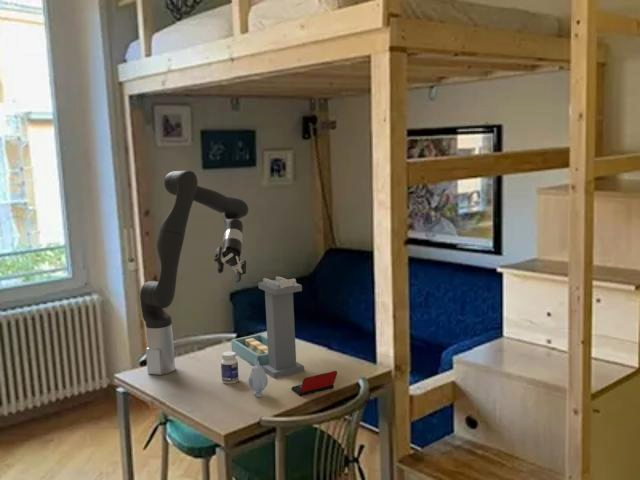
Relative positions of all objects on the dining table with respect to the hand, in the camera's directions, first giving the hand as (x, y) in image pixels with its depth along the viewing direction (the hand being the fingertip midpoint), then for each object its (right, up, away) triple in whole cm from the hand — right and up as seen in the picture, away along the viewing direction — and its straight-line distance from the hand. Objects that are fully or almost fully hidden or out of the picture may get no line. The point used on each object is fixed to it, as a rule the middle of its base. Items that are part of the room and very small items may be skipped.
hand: (229, 277), depth 243 cm
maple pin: (+11, -30, +3) cm, 32 cm away
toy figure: (+15, -36, -36) cm, 53 cm away
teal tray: (+12, -31, +2) cm, 33 cm away
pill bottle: (+4, -35, -22) cm, 41 cm away
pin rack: (+22, -33, -15) cm, 42 cm away
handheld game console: (+33, -36, -34) cm, 59 cm away
